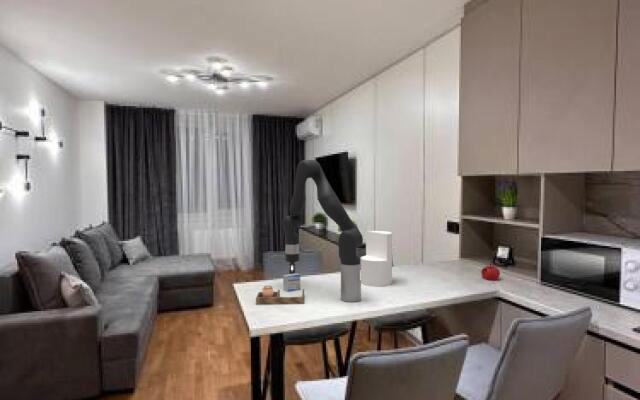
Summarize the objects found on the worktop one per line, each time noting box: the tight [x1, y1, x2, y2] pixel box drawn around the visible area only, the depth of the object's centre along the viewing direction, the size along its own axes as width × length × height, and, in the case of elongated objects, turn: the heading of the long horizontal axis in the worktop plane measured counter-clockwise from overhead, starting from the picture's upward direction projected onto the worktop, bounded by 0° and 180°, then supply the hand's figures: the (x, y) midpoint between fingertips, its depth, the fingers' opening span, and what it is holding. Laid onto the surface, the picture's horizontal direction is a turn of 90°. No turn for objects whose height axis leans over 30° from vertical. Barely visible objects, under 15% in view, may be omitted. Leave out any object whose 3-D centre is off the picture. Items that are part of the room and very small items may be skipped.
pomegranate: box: [480, 262, 501, 281], centre depth 217 cm, size 10×10×9 cm
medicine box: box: [282, 272, 301, 293], centre depth 194 cm, size 8×4×9 cm, turn 122°
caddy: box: [255, 288, 305, 306], centre depth 178 cm, size 22×13×4 cm, turn 92°
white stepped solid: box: [360, 230, 393, 288], centre depth 210 cm, size 17×17×28 cm
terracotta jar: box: [261, 285, 274, 297], centre depth 176 cm, size 5×5×7 cm
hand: (292, 283), depth 204 cm, fingers closed
